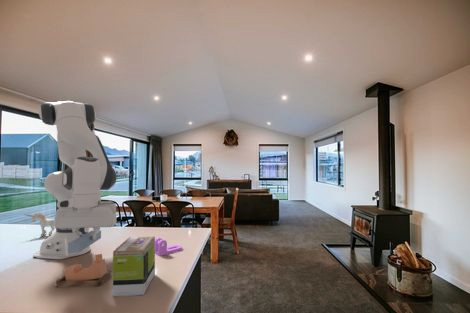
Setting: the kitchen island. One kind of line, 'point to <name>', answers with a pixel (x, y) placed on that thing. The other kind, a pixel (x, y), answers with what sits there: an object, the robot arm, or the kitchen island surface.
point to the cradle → (82, 282)
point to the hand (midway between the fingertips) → (86, 239)
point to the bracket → (165, 247)
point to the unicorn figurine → (44, 222)
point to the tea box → (133, 266)
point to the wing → (82, 242)
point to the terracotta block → (87, 270)
